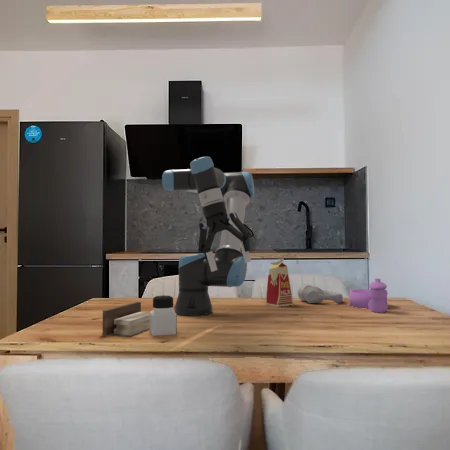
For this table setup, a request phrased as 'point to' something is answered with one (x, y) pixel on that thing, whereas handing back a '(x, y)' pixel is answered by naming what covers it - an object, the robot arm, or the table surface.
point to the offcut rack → (117, 313)
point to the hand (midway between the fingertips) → (231, 266)
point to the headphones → (317, 294)
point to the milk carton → (278, 286)
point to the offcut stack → (132, 323)
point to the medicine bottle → (163, 316)
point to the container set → (371, 297)
